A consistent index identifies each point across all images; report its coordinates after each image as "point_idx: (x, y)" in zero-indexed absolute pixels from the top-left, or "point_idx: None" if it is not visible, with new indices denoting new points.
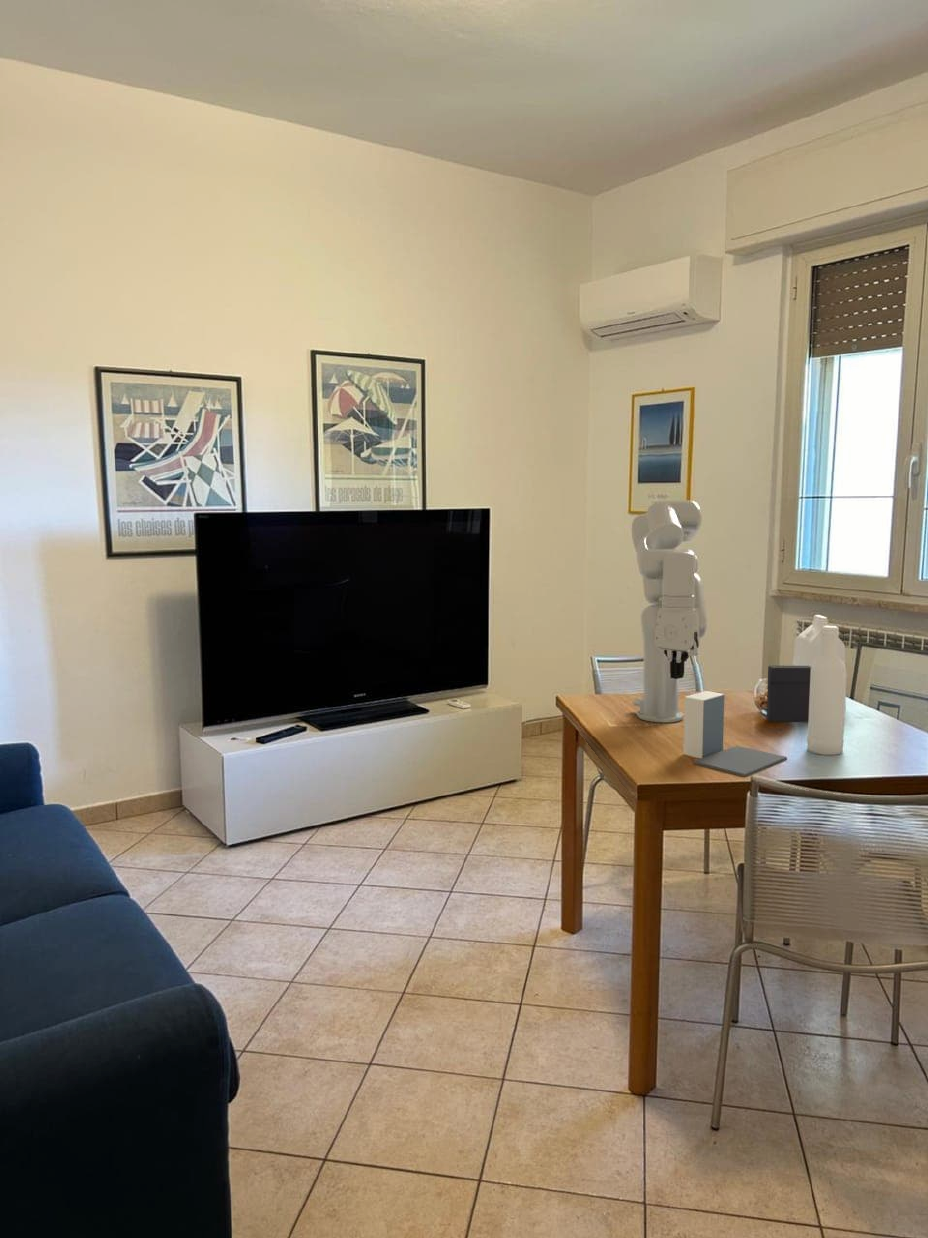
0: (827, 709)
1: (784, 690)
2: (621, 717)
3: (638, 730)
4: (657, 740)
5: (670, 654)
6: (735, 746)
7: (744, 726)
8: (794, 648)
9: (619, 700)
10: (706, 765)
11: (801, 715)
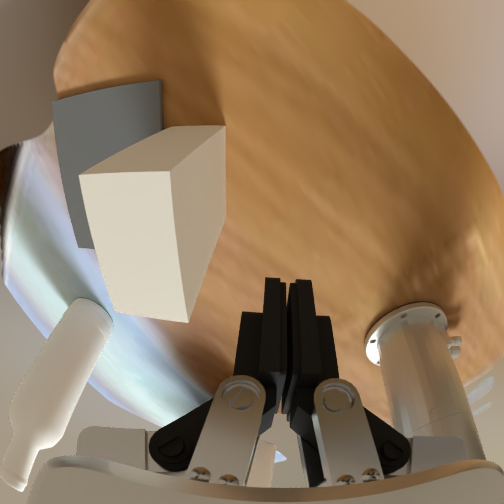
0: (40, 351)
1: None
2: (468, 293)
3: (419, 238)
4: (348, 191)
5: (335, 440)
6: None
7: None
8: None
9: (477, 358)
10: (127, 84)
11: None
